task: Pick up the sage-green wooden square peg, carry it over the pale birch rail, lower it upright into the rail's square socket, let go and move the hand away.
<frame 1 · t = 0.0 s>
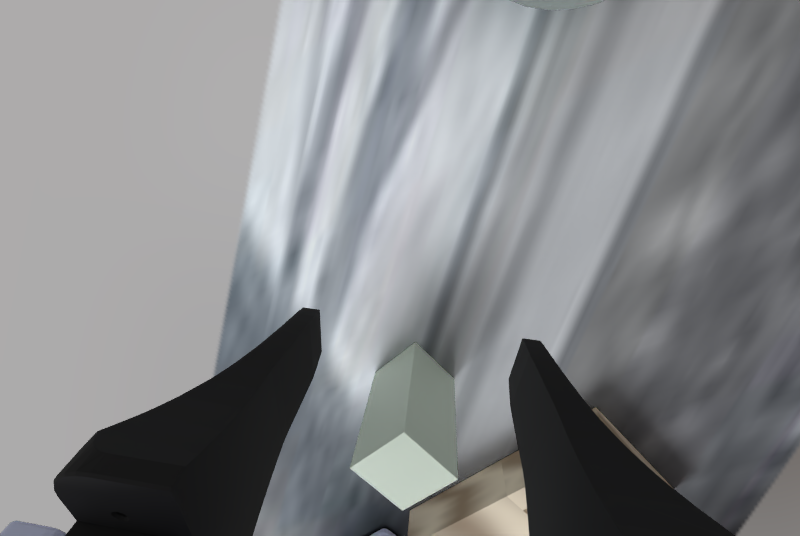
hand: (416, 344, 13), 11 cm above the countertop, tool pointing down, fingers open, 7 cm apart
socket rail: (533, 500, 30), on the countertop
square peg: (414, 375, 27), on the countertop
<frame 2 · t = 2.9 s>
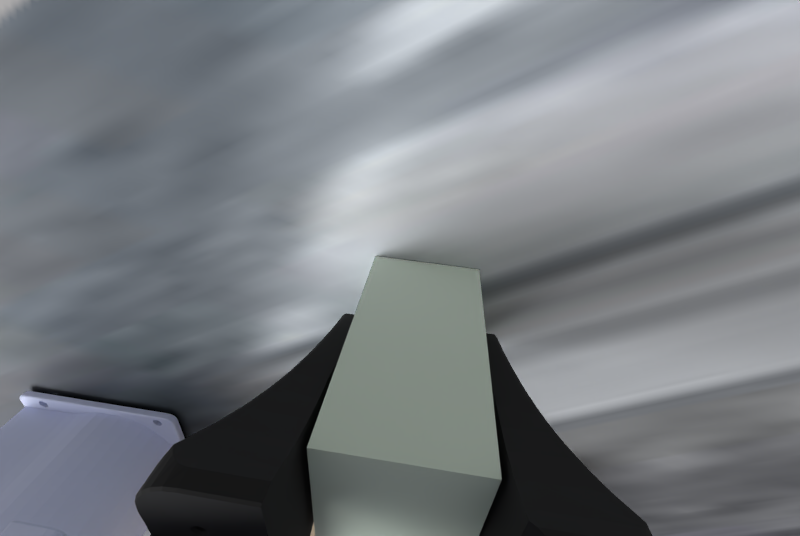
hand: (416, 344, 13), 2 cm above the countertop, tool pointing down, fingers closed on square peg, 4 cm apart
square peg: (421, 303, 15), on the countertop, touching gripper
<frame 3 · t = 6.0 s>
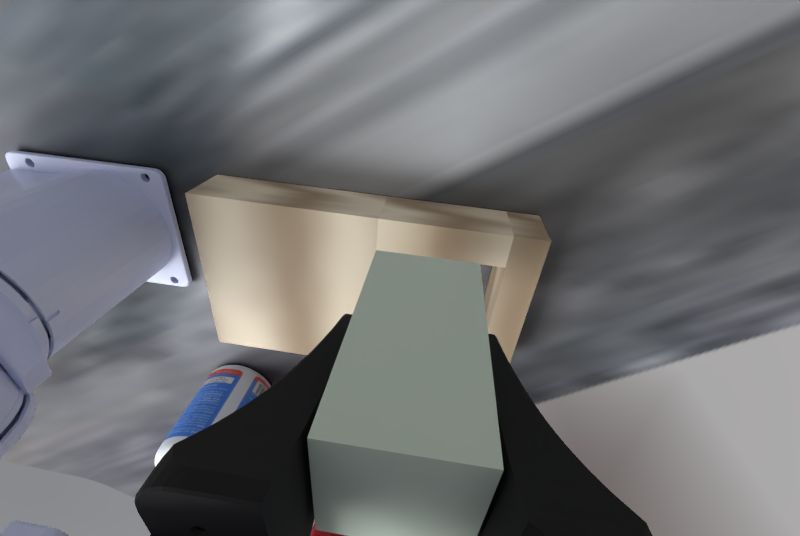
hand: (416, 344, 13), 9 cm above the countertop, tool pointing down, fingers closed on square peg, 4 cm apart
pill bottle: (245, 384, 31), on the countertop
socket rail: (370, 270, 23), on the countertop
square peg: (422, 298, 15), point 7 cm above the countertop, touching gripper
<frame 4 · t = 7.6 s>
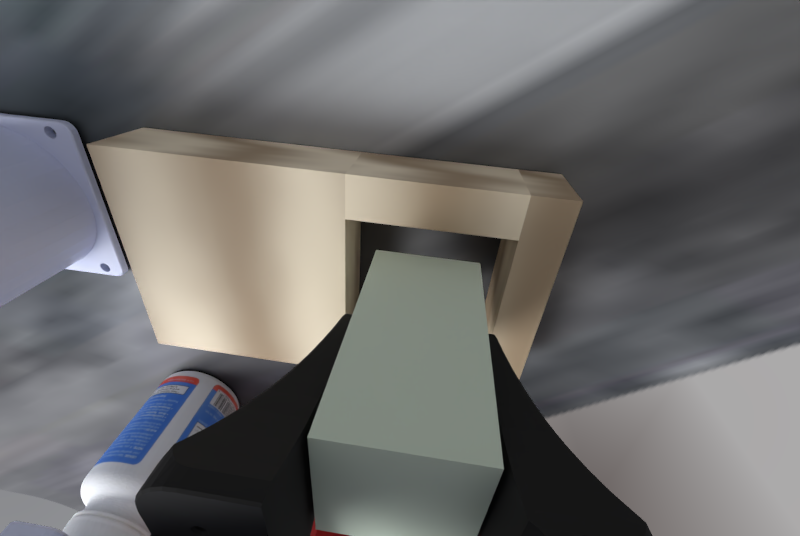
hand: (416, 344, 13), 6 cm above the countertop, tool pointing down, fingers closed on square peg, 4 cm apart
pill bottle: (206, 393, 26), on the countertop
socket rail: (345, 252, 18), on the countertop
square peg: (422, 298, 15), point 3 cm above the countertop, touching gripper
when the fingers open (4 cm above the countertop, at t = 9.2 s): square peg drops 1 cm, resting in socket rail.
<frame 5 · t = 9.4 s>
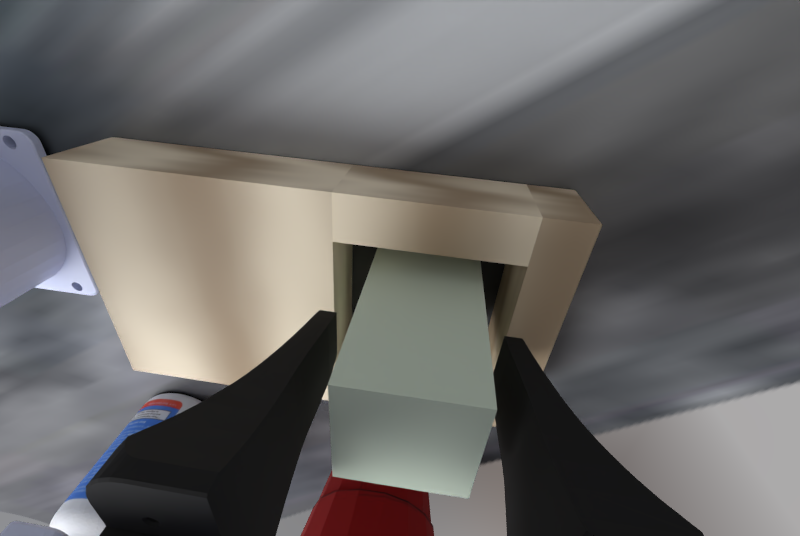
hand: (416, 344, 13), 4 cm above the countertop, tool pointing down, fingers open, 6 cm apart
pill bottle: (191, 415, 25), on the countertop
socket rail: (336, 272, 17), on the countertop
plastic cup: (384, 465, 25), on the countertop
square peg: (425, 279, 17), resting in socket rail
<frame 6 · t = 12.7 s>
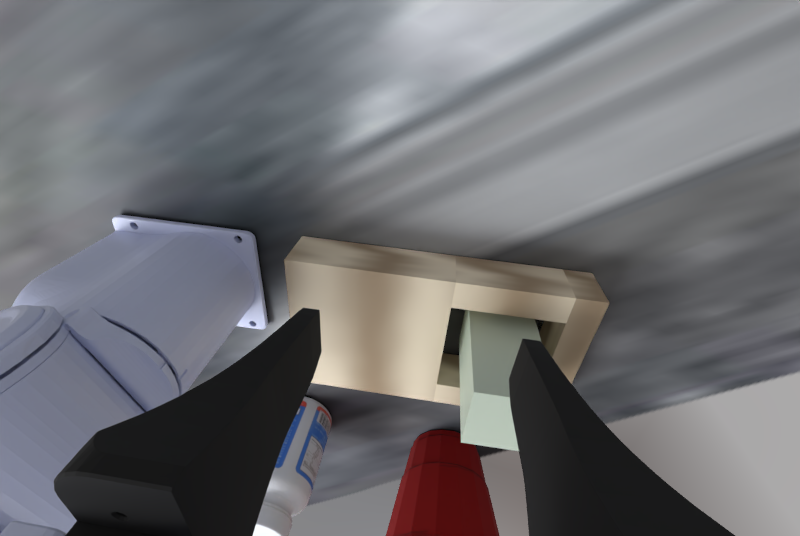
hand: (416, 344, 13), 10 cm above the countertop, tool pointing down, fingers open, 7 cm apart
pill bottle: (304, 411, 34), on the countertop
socket rail: (433, 316, 26), on the countertop
plastic cup: (446, 448, 34), on the countertop
square peg: (492, 321, 25), resting in socket rail
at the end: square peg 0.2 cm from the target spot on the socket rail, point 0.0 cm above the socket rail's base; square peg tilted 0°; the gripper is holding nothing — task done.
